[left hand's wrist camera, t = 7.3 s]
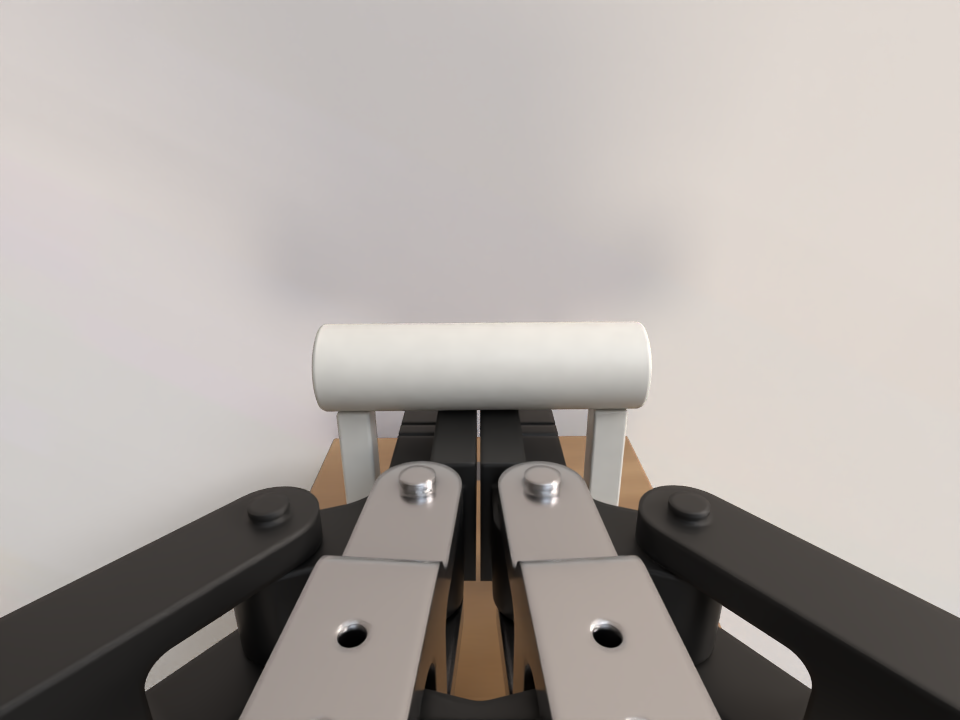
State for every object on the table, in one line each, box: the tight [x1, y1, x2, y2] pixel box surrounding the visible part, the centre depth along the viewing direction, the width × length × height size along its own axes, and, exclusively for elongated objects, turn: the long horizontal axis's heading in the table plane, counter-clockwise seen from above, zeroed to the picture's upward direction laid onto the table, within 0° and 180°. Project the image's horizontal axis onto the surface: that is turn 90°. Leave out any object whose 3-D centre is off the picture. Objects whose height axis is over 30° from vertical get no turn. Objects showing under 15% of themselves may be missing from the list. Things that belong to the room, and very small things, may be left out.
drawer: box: [310, 321, 721, 701], centre depth 16 cm, size 23×9×9 cm, turn 0°
